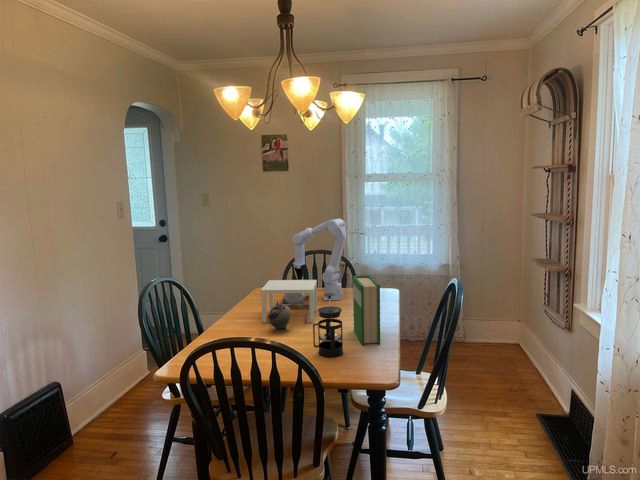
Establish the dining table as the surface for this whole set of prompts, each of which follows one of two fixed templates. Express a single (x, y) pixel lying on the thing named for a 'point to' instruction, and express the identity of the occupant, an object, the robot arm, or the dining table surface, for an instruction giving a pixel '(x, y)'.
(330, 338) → the french press
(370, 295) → the hardback book
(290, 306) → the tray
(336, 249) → the robot arm
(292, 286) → the shelf
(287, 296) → the teacup
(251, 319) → the dining table surface
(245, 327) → the dining table surface
